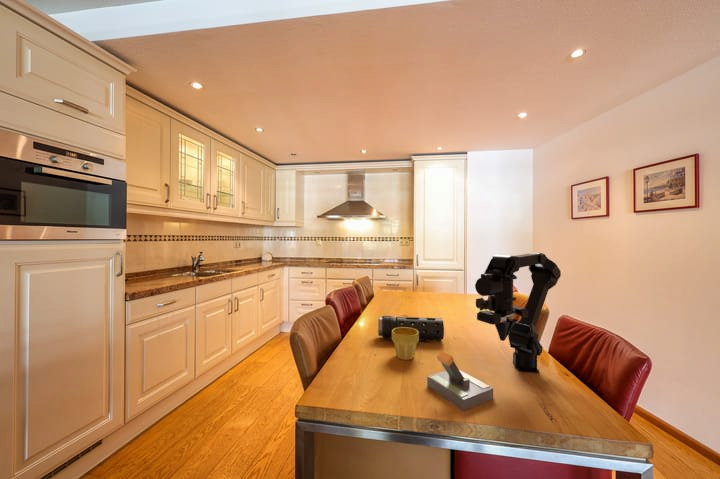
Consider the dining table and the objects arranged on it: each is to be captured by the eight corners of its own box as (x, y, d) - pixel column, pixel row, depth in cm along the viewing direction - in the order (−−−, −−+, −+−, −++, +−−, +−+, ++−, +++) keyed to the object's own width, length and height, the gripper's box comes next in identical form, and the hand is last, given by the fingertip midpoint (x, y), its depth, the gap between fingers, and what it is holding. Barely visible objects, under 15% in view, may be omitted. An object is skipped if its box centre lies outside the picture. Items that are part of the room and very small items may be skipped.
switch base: (455, 376, 93) (455, 361, 92) (493, 398, 80) (493, 381, 80) (427, 385, 87) (427, 369, 87) (463, 410, 75) (463, 392, 74)
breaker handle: (456, 375, 86) (441, 350, 83) (466, 381, 82) (451, 356, 79) (451, 381, 85) (436, 356, 82) (462, 387, 81) (446, 362, 78)
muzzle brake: (444, 345, 119) (444, 321, 119) (378, 342, 122) (378, 319, 122) (440, 337, 129) (440, 315, 129) (378, 334, 132) (378, 312, 132)
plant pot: (385, 356, 108) (386, 330, 108) (402, 348, 116) (402, 324, 115) (408, 365, 101) (408, 337, 101) (424, 356, 108) (424, 331, 108)
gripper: (499, 286, 104) (498, 328, 104) (463, 291, 95) (463, 337, 96) (529, 292, 94) (528, 338, 95) (493, 297, 86) (492, 348, 86)
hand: (502, 340), depth 93 cm, fingers closed
